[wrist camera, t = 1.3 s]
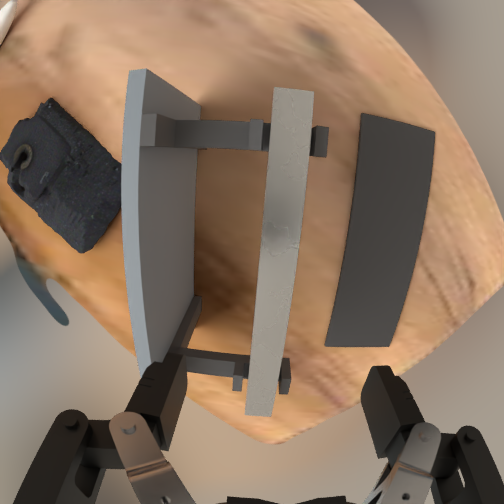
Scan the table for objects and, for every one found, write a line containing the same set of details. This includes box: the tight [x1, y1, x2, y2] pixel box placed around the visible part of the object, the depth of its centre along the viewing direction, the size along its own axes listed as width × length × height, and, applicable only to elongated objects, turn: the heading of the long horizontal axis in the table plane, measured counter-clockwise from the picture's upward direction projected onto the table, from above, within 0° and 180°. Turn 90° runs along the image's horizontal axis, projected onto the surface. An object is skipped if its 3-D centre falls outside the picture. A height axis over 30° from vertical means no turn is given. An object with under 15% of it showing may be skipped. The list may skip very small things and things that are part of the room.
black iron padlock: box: [0, 98, 122, 253], centre depth 30 cm, size 15×22×5 cm
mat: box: [325, 113, 435, 347], centre depth 33 cm, size 30×10×1 cm, turn 176°
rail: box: [245, 87, 314, 417], centre depth 21 cm, size 26×2×3 cm, turn 176°
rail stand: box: [121, 69, 329, 394], centre depth 26 cm, size 28×13×16 cm, turn 176°
